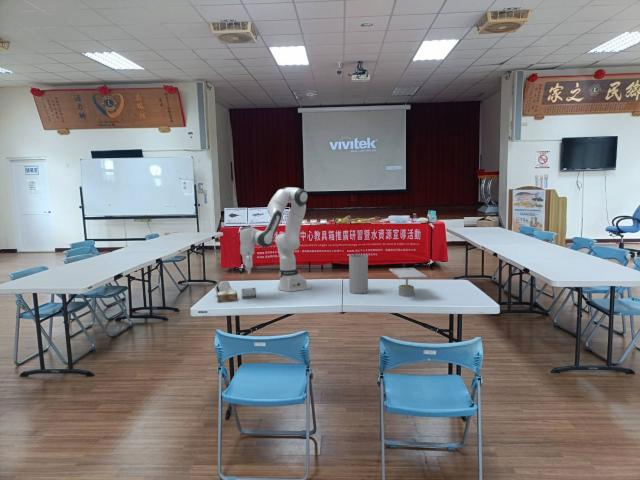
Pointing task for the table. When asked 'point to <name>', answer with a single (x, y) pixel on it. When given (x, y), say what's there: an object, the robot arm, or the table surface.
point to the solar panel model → (407, 273)
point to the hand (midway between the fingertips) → (248, 272)
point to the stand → (227, 296)
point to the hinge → (223, 287)
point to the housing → (248, 293)
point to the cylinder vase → (358, 273)
